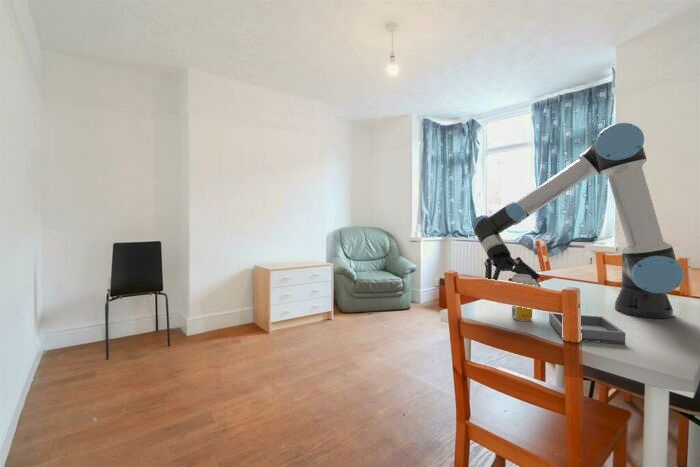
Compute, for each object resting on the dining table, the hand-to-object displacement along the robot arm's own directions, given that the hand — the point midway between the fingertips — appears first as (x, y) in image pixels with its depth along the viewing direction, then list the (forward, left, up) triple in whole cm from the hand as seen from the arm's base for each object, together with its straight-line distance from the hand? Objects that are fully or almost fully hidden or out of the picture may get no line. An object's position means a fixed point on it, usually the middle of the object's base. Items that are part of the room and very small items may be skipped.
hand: (523, 298), depth 107 cm
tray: (-15, +8, -7) cm, 18 cm away
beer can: (0, -1, -7) cm, 8 cm away
